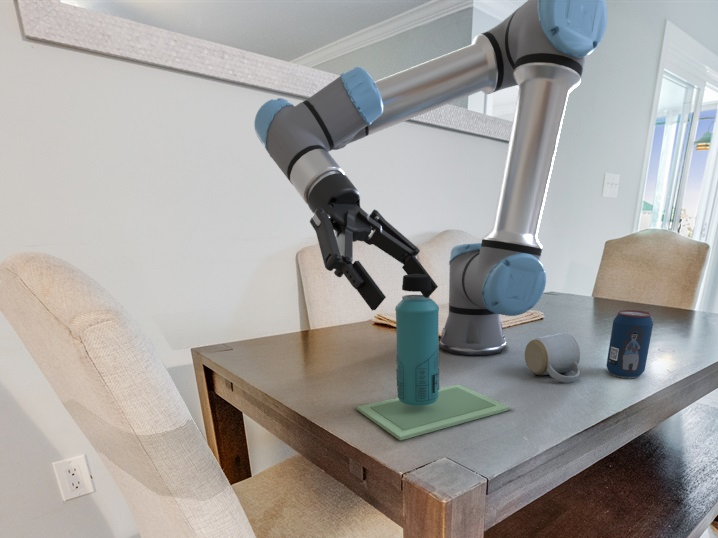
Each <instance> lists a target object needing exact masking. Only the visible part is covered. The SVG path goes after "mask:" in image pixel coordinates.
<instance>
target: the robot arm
mask: <svg viewBox="0 0 718 538" xmlns="http://www.w3.org/2000/svg"><path fill="white" fill-rule="evenodd" d="M607 8H608V7H607V2H606V0H526V1H525V2H524V3H523V4H522V5H521V6H519V7H518V8H517V9H515V10H514V11H513V12H512V13H511V14H510V15H509V16H507V17H506V18H505V19H504V20H502V21H501V22H499V24H497V25H495V26H494V27H493V28H491V29H489V30H487V31H485V32H482V33H479V34H477V35H475V36H474V38H473V40H472V43H471V44H469V45H467V46H464V47H461V48H459V49H456V50H454V51H451V52H449V53H446V54H443V55H440V56H437V57H435V58H433V59H429V60H427V61H425V62H422V63H419V64H417V65H414V66H411V67H409V68H406V69H404V70H401V71H399V72H396V73H394V74H390V75H388V76H385V77H383V78H381V79H377V80H374V78H373V77H372V76H371V75H370V73H369V72H368V71H367V70H366V69H365V68H364V67H361V66H355V67H353V68H351V69H350V70H347V72H342V73H341V74H340V76H338V77H337V78H335V79H333V80H332V81H331V82H330V83H328V84H327V85H325V86H324V87H322V88H321V89H320V90H319V91H317V92H315V93H313V95H312V96H310V97H309V98H307V99H305V100H303V101H301V102H299V103H298V104H296V105H294V104H293V103H291V101H289V100H287V99H285V98H282V97H281V98H280V97H278V98H276V99H273V98H272V99H269V100H267V101H266V102H264V103H263V104H262V105H260V107H259V109H258V110H257V112H256V114H255V117H254V124H253V126H254V127H253V128H254V131H255V134H256V136H257V139H258V140H259V142H261V144H262V146H263V147H264V149H265V150H266V152H267V153H268V155H269V157H270V158H271V159H272V160H273V162H274V163H275V164H276V166H277V167H278V168H279V169H280V171H281V172H282V173H283V174H284V176H285V178H287V180H288V181H289V183H290V184H291V185H292V186H293V187H294V189H295V190H296V192H297V193H298V194H299V195H300V197H301V198H302V200H303V201H304V203H305V204H306V205H308V208H309V210H310V211H311V212H312V216H311V217H310V220H309V224H310V225H311V227H312V229H313V230H314V231H315V233H316V238H317V241H318V245H319V250H320V254H321V258H322V261H323V264H324V268H325V269H326V270H327V271H329V272H332V271H333V273H334V275H335V276H336V277H337V278H342V277H343V275H344V277H345V278H346V279H347V280H348V282H349V283H350V285H351V286H352V288H354V290H356V291H357V292H358V293H359V295H360V297H361V298H362V299H363V300H364V302H365V303H366V304H367V306H368V307H369V309H370V310H371V312H372V311H376V310H377V309H378V308H379V306H380V305H381V304H382V303H383V302H384V300H385V299H386V297H387V296H386V295H385V294H384V292H383V290H381V288H380V287H379V286H378V284H377V283H376V282H375V280H374V279H373V278H372V277H371V275H370V274H369V272H368V271H367V269H365V267H364V266H363V264H362V263H361V262H360V260H354V243H355V242H363V243H365V244H367V245H369V246H371V245H373V246H374V247H376V248H378V249H379V250H381V251H382V252H384V253H385V254H387V255H388V256H390V257H391V258H393V259H395V260H396V261H397V262H399V263H401V264H402V267H401V268H402V269H403V271H404V272H405V273H406V275H409V274H425V275H429V276H430V277H431V275H430V274H429V273H428V271H427V270H426V269H425V267H424V266H423V265H422V264H421V262H420V261H419V259H417V256H418V254H420V252H421V251H420V248H419V247H418V246H416V245H415V244H414V243H413V242H412V241H410V240H409V239H408V237H406V236H405V235H403V234H402V233H401V232H400V231H399V230H398V229H397V228H395V227H394V226H393V225H392V224H391V223H390V222H388V221H387V220H386V219H385V218H384V217H383V215H382V214H381V213H380V212H379V210H377V209H373V210H372V211H371V213H368V212H366V211H365V210H364V209H363V208H362V207H361V194H360V192H359V190H358V189H357V188H356V187H355V185H354V183H352V181H351V180H350V179H349V177H348V176H347V175H345V171H344V170H343V169H342V168H341V166H340V165H339V163H338V162H337V161H336V160H335V159H334V157H332V155H331V154H330V152H331V151H337V150H340V149H343V148H345V147H346V146H347V145H349V144H352V143H353V142H356V141H358V140H362V139H364V138H365V137H368V136H370V135H373V134H375V133H378V132H380V131H383V130H386V129H388V128H391V127H393V126H396V125H399V124H400V123H403V122H406V121H408V120H411V119H414V118H416V117H418V116H422V115H424V114H426V113H429V112H431V111H434V110H436V109H439V108H441V107H444V106H447V105H450V104H451V103H455V102H457V101H459V100H462V99H464V98H467V97H470V96H472V95H475V94H477V93H479V92H482V93H483V94H485V95H492V94H493V93H496V92H499V91H502V90H505V89H508V88H513V87H516V86H518V93H517V97H516V103H515V108H514V113H513V117H512V123H511V129H510V135H509V139H508V145H507V149H506V150H507V151H506V154H505V155H506V156H505V160H504V166H503V171H502V175H501V181H500V187H499V192H498V197H497V202H496V208H495V212H494V218H493V222H492V223H493V224H492V228H491V230H490V231H489V232H488V233H487V234H485V235H484V236H483V237H482V239H481V242H475V243H474V242H473V243H463V244H457V245H455V246H453V247H452V248H451V249H450V250H451V251H450V257H449V261H448V265H449V280H448V283H449V285H448V288H449V289H448V315H447V318H446V320H445V324H444V327H443V328H442V330H441V334H440V335H441V336H440V339H439V343H440V344H439V348H441V350H443V351H445V352H448V353H451V354H457V355H464V356H489V355H495V354H500V353H501V352H503V351H505V350H506V343H507V342H506V337H505V334H504V330H503V329H504V328H503V324H502V320H501V316H506V317H515V316H520V315H524V314H525V313H528V311H530V310H532V309H533V308H534V307H535V306H536V305H537V303H538V302H539V301H540V300H541V298H542V297H543V294H544V292H545V290H546V284H547V274H546V270H545V269H544V265H543V263H542V262H541V258H542V252H543V245H542V244H541V243H540V241H539V239H538V233H539V228H540V224H541V219H542V215H543V210H544V206H545V202H546V198H547V192H548V188H549V183H550V179H551V174H552V170H553V166H554V161H555V156H556V152H557V147H558V143H559V139H560V134H561V129H562V125H563V119H564V116H565V111H566V106H567V102H568V98H569V94H570V93H571V92H572V91H573V90H574V89H576V88H577V87H578V86H580V84H581V81H582V76H583V72H584V67H585V63H586V59H587V56H589V55H590V54H592V53H593V52H594V51H595V50H596V48H598V46H599V45H600V43H601V42H602V40H603V38H604V36H605V32H606V29H607V26H608V25H607V24H608V9H607ZM353 261H354V262H353ZM438 287H439V286H438V284H437V283H436V282H435V280H434V279H433V278H432V277H431V290H430V291H423V292H420V294H421V295H423V296H424V297H425V298H428V297H430V296H431V295H432V294H433V293H434V292H435V291H436V289H438ZM500 315H501V316H500Z"/></svg>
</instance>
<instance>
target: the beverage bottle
mask: <svg viewBox="0 0 718 538" xmlns="http://www.w3.org/2000/svg"><path fill="white" fill-rule="evenodd" d="M429 275H430V274H429ZM429 275H425V274H409V275H407V274H404V275H403V277H402V285H401V290H402V291H404V292H413V293H415V292H417V293H418V292H419V293H421V292H423V291H430V290H431V278H432V276H431V275H430V276H429ZM394 309H395V324H396V325H395V328H396V329H395V333H396V348H395V350H394V351H396V354H395V357H396V359H395V361H396V363H395V365H396V366H395V367H396V368H395V371H396V377H395V378H396V387H397V394H396V395H397V398H399V400H400V401H401V402H402V403H404V404H408V405H414V406H422V405H429V404H432V403H434V402H436V401H437V399H438V390H439V388H440V367H439V366H440V352H439V351H440V349H439V348H440V338H441V336H440V335H439V310H440V307H439V305H438V304H437V303H436V301H434V300H433V299H432V298H431V297H430V298H423V297H411V298H404V299H401V300H400V301H399V302H398V303H397V304H396V306H395V308H394Z"/></svg>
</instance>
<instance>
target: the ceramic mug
mask: <svg viewBox="0 0 718 538" xmlns="http://www.w3.org/2000/svg"><path fill="white" fill-rule="evenodd" d="M580 350H581V349H580V346H579V343H578V341H577V339H576V338H575V337H574V336H573V334H571V333H569V332H565V331H563V332H559V333H555V334H549V335H545V336H540V337H536V338H534V339H532V340H530V341H529V342H527V344H526V346H525V349H524V362H525V365H526V367H527V368H528V370H529V372H530V373H532V374H533V375H537V376H548V375H549V376H550V377H551V378H552V379H553V380H555V381H557V382H560V383H564V384H571V383H574V382H575V381H577V380H578V378H579V376H580V371H581V370H580V369H581V368H580V367H579V363H580V358H581V351H580ZM569 372H574V374H575V375H563V374H564V373H569Z"/></svg>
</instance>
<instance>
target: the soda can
mask: <svg viewBox="0 0 718 538" xmlns="http://www.w3.org/2000/svg"><path fill="white" fill-rule="evenodd" d="M611 326H612V327H611V334H610V340H609V346H608V353H607V358H606V365H605V366H606V369H607V372H608V373H609V374H610V375H611V376H613V377H616V378H621V379H637V378H640V377H641V375H642V374H644V372H645V370H646V366H647V361H648V354H649V350H650V349H649V348H650V343H651V338H652V333H653V326H654V321H653V319H652V313H651V312H648V311H644V310H635V309H622V310H618V311H617V315H616V316H615V317H614V319H613V320H612V325H611Z"/></svg>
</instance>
